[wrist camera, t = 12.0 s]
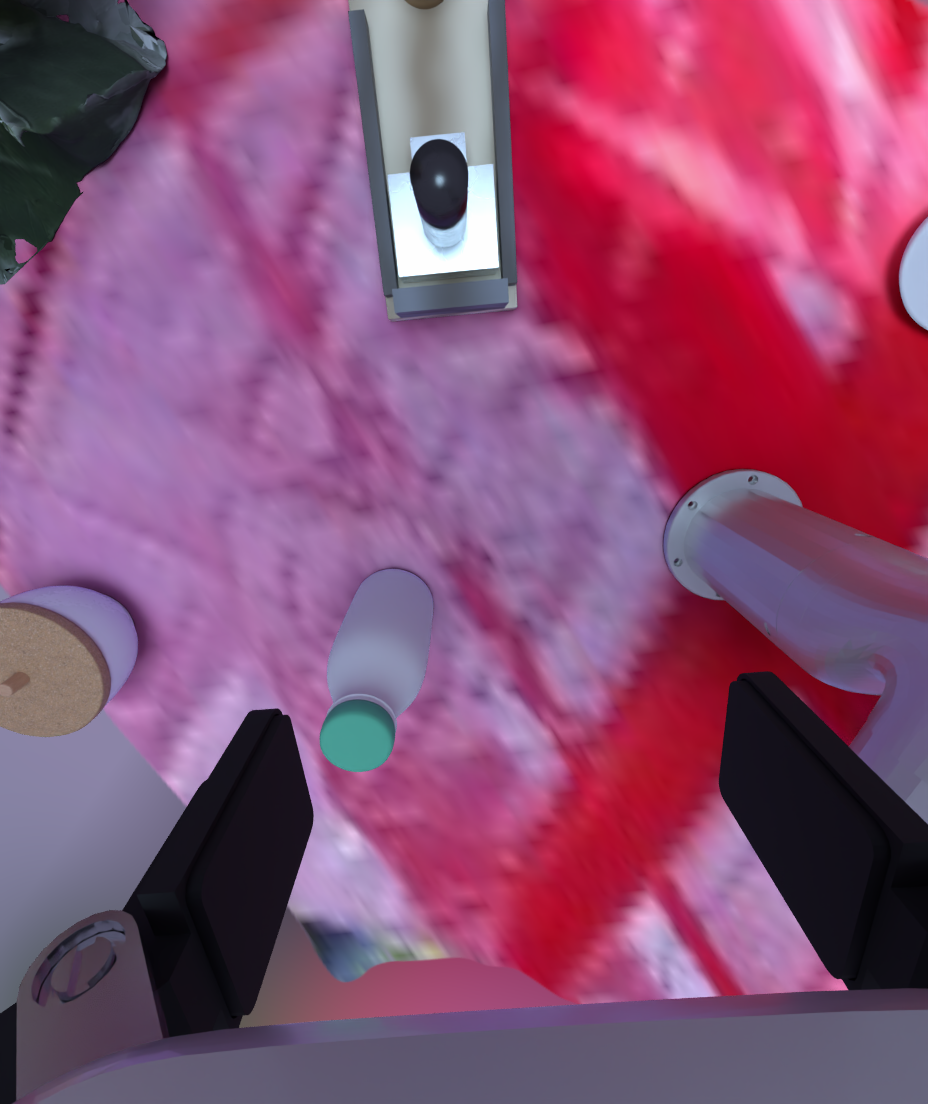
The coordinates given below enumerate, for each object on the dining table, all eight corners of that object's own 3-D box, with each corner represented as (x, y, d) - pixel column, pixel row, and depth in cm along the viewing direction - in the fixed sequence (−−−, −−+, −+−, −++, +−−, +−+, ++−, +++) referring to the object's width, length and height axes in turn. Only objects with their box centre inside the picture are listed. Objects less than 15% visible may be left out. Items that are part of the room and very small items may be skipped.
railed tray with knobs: (494, -122, 32) (501, -227, 26) (514, 310, 41) (523, 300, 35) (339, -105, 32) (313, -204, 27) (391, 321, 41) (380, 314, 35)
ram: (488, 144, 35) (501, 41, 24) (496, 274, 38) (510, 235, 27) (388, 154, 35) (355, 57, 24) (403, 283, 38) (379, 248, 27)
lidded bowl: (34, 549, 48) (-84, 599, 37) (170, 587, 49) (92, 646, 39) (30, 658, 52) (-79, 732, 41) (155, 691, 53) (80, 769, 43)
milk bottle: (348, 571, 48) (278, 700, 30) (427, 561, 48) (407, 685, 29) (364, 640, 51) (308, 799, 32) (439, 632, 51) (426, 787, 32)
